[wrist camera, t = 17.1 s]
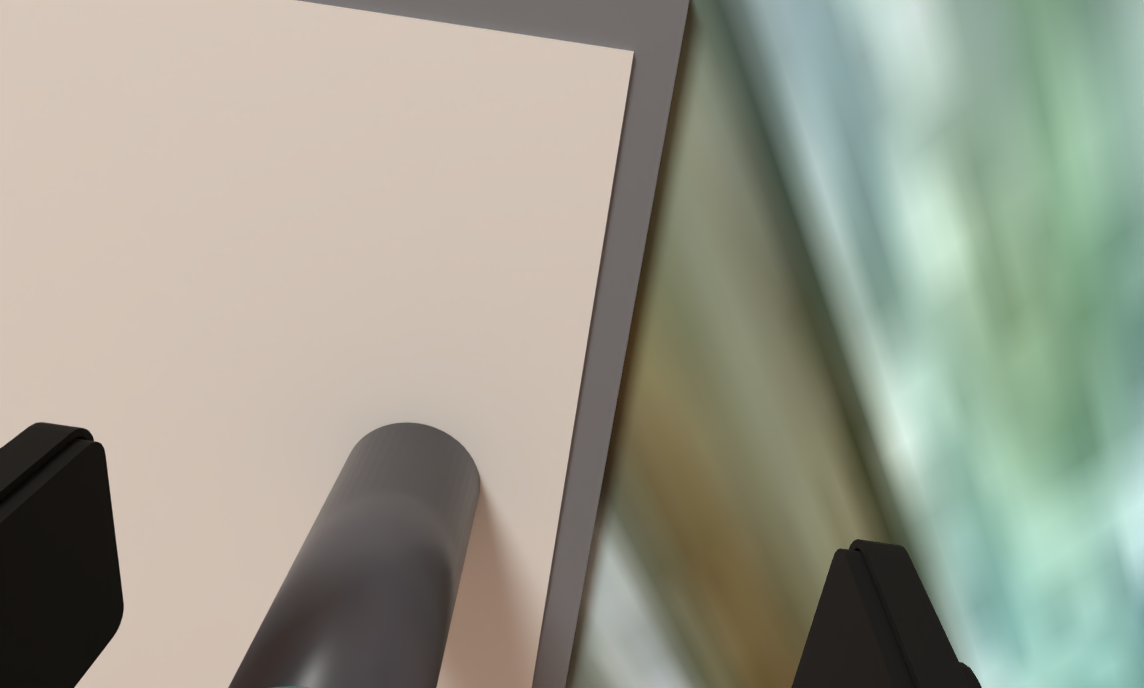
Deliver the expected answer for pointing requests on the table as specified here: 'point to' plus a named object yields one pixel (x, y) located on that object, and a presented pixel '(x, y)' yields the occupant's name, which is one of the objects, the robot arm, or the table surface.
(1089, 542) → the table surface
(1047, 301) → the table surface
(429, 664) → the marker
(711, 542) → the table surface
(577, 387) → the notepad
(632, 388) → the table surface
